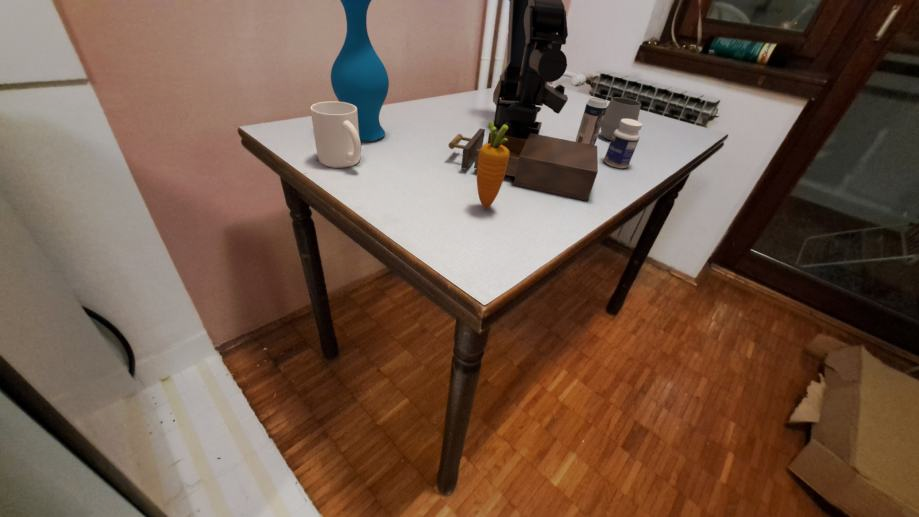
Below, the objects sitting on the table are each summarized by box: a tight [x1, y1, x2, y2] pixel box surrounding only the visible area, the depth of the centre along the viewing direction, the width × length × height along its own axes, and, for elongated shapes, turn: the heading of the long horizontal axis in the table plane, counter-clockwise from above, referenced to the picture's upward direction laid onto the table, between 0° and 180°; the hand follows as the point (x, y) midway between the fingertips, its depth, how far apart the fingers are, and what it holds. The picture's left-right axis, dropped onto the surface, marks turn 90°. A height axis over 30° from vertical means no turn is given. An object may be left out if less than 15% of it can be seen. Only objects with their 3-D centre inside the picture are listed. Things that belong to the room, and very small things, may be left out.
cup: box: [600, 96, 642, 142], centre depth 99 cm, size 10×9×10 cm
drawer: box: [448, 128, 527, 178], centre depth 77 cm, size 18×13×4 cm
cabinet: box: [513, 133, 599, 202], centre depth 75 cm, size 15×15×6 cm
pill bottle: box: [603, 119, 643, 169], centre depth 84 cm, size 6×6×10 cm
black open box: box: [504, 119, 543, 139], centre depth 88 cm, size 8×6×6 cm
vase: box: [330, 0, 390, 143], centre depth 77 cm, size 12×13×28 cm
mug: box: [310, 100, 362, 169], centre depth 70 cm, size 12×8×10 cm
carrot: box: [476, 120, 510, 210], centre depth 59 cm, size 5×5×15 cm
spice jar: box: [574, 97, 608, 146], centre depth 89 cm, size 5×5×12 cm
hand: (519, 141), depth 89 cm, fingers closed on black open box, 6 cm apart
